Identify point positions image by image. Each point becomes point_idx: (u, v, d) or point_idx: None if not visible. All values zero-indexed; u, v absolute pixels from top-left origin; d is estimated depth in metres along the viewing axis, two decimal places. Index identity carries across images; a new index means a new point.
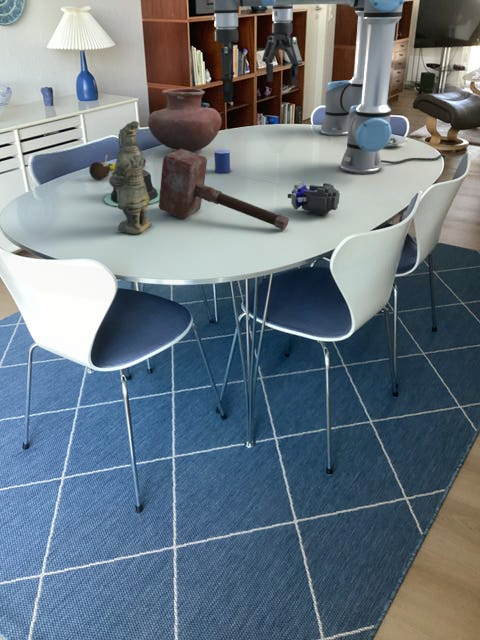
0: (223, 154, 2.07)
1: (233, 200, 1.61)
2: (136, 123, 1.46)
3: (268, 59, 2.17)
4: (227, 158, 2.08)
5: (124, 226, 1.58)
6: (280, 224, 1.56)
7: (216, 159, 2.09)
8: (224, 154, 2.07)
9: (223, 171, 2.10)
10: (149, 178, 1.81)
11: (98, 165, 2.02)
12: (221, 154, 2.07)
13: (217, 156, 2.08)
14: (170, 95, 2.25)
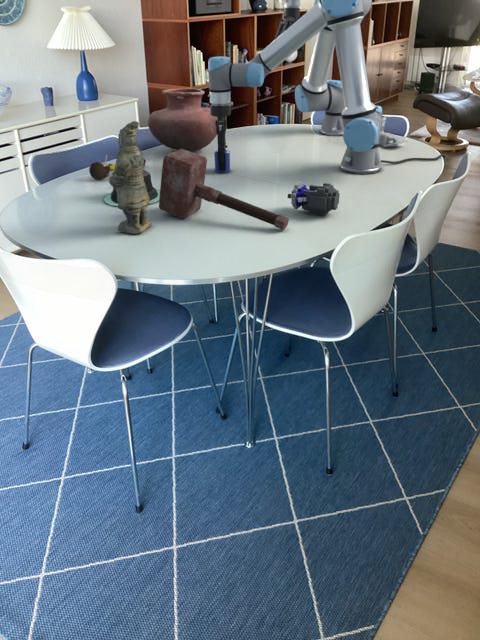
0: None
1: (233, 200, 1.61)
2: (136, 123, 1.46)
3: None
4: (227, 158, 2.08)
5: (124, 226, 1.58)
6: (280, 224, 1.56)
7: (216, 159, 2.09)
8: None
9: (223, 171, 2.10)
10: (149, 178, 1.81)
11: (98, 165, 2.02)
12: None
13: (217, 156, 2.08)
14: (170, 95, 2.25)
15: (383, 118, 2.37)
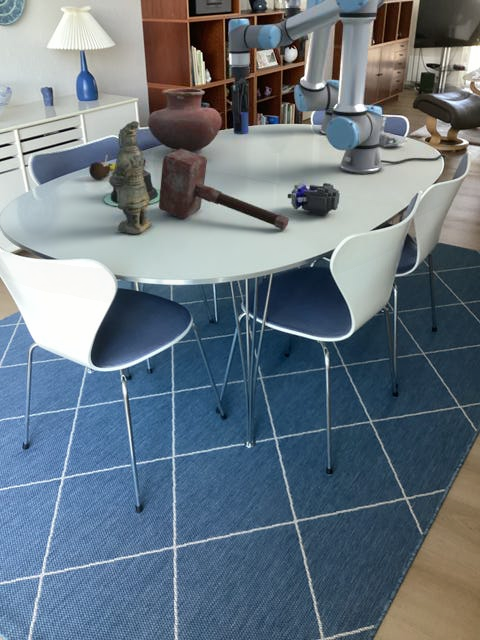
0: None
1: (233, 200, 1.61)
2: (136, 123, 1.46)
3: None
4: (244, 120, 2.15)
5: (124, 226, 1.58)
6: (280, 224, 1.56)
7: (234, 120, 2.17)
8: None
9: (239, 132, 2.18)
10: (149, 178, 1.81)
11: (98, 165, 2.02)
12: None
13: None
14: (170, 95, 2.25)
15: (383, 118, 2.37)
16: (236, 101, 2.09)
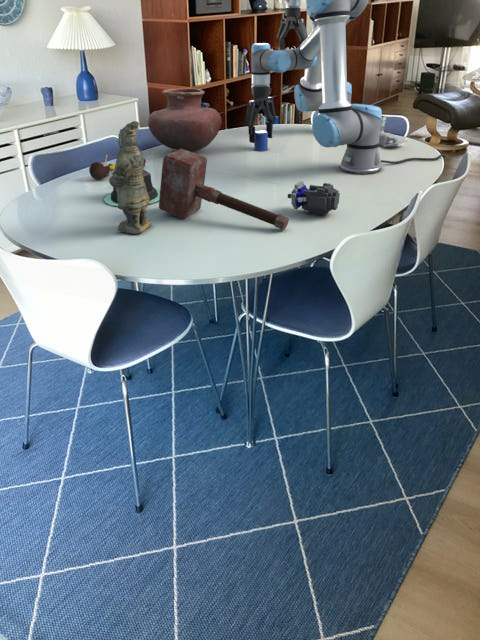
0: (257, 134, 2.36)
1: (233, 200, 1.61)
2: (136, 123, 1.46)
3: (281, 37, 2.77)
4: (261, 138, 2.36)
5: (124, 226, 1.58)
6: (280, 224, 1.56)
7: None
8: (258, 134, 2.36)
9: (257, 149, 2.39)
10: (149, 178, 1.81)
11: (98, 165, 2.02)
12: (256, 133, 2.36)
13: None
14: (170, 95, 2.25)
15: (383, 118, 2.37)
16: (249, 115, 2.29)
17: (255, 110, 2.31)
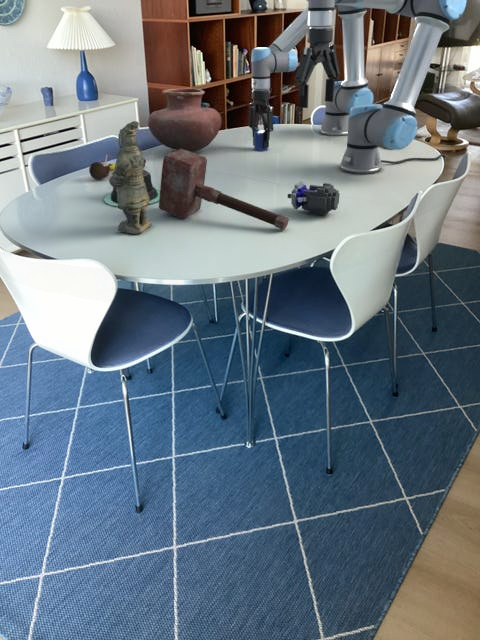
0: (257, 134, 2.36)
1: (233, 200, 1.61)
2: (136, 123, 1.46)
3: (253, 124, 2.38)
4: (261, 138, 2.36)
5: (124, 226, 1.58)
6: (280, 224, 1.56)
7: (254, 137, 2.39)
8: (258, 134, 2.36)
9: (257, 149, 2.39)
10: (149, 178, 1.81)
11: (98, 165, 2.02)
12: (256, 133, 2.36)
13: (254, 135, 2.38)
14: (170, 95, 2.25)
15: None
16: (303, 67, 1.61)
17: (311, 62, 1.64)
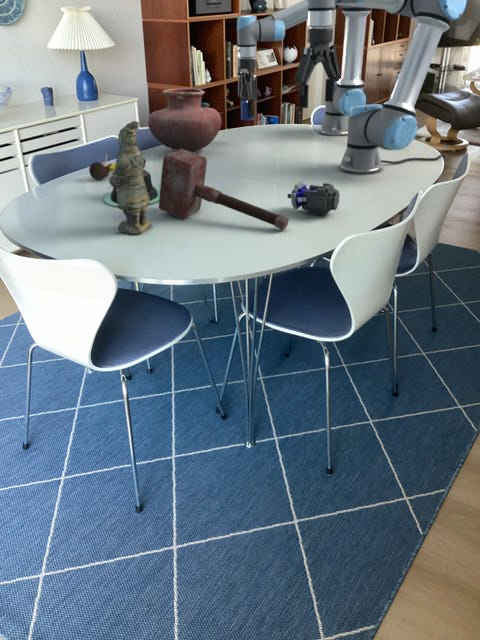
0: (243, 103, 2.38)
1: (233, 200, 1.61)
2: (136, 123, 1.46)
3: (241, 94, 2.41)
4: (246, 107, 2.39)
5: (124, 226, 1.58)
6: (280, 224, 1.56)
7: None
8: (243, 103, 2.38)
9: (243, 118, 2.42)
10: (149, 178, 1.81)
11: (98, 165, 2.02)
12: (241, 102, 2.39)
13: None
14: (170, 95, 2.25)
15: None
16: (303, 67, 1.61)
17: (311, 62, 1.64)
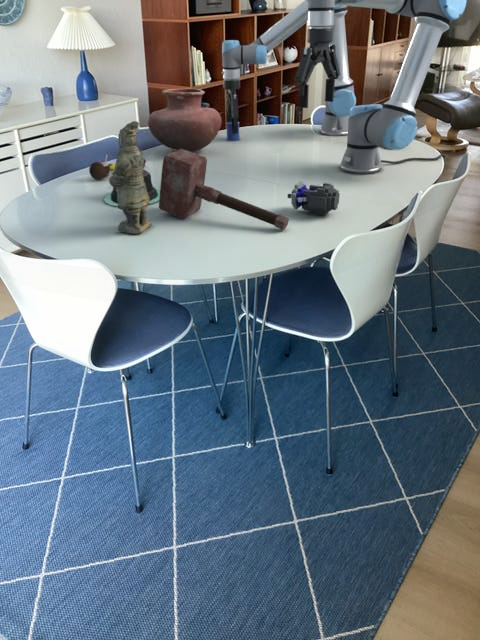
0: (227, 124, 2.54)
1: (233, 200, 1.61)
2: (136, 123, 1.46)
3: (227, 110, 2.57)
4: (230, 128, 2.54)
5: (124, 226, 1.58)
6: (280, 224, 1.56)
7: None
8: (227, 125, 2.54)
9: (227, 138, 2.58)
10: (149, 178, 1.81)
11: (98, 165, 2.02)
12: (226, 124, 2.55)
13: None
14: (170, 95, 2.25)
15: None
16: (303, 67, 1.61)
17: (311, 62, 1.64)
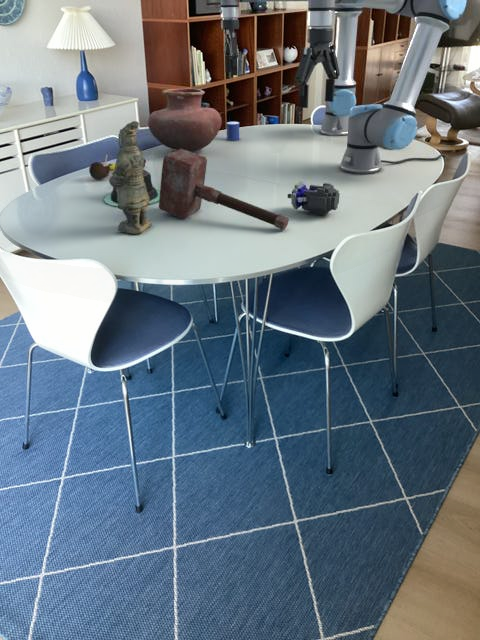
0: (227, 124, 2.54)
1: (233, 200, 1.61)
2: (136, 123, 1.46)
3: (225, 51, 2.46)
4: (230, 128, 2.54)
5: (124, 226, 1.58)
6: (280, 224, 1.56)
7: None
8: (227, 125, 2.54)
9: (227, 138, 2.58)
10: (149, 178, 1.81)
11: (98, 165, 2.02)
12: (226, 124, 2.55)
13: None
14: (170, 95, 2.25)
15: None
16: (303, 67, 1.61)
17: (311, 62, 1.64)
